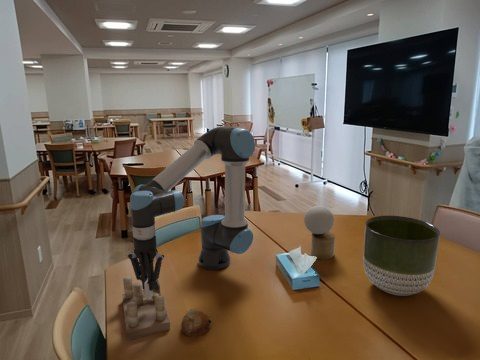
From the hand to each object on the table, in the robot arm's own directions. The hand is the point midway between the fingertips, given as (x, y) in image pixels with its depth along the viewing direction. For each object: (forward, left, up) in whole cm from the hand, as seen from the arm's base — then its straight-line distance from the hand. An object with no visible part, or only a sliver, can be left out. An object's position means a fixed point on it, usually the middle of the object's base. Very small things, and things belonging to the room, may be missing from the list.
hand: (149, 297), depth 124 cm
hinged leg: (+3, -4, -4) cm, 6 cm away
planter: (-91, -35, -8) cm, 98 cm away
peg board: (+2, 0, -8) cm, 8 cm away
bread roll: (-18, +3, -8) cm, 20 cm away
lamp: (-61, -62, -8) cm, 87 cm away
